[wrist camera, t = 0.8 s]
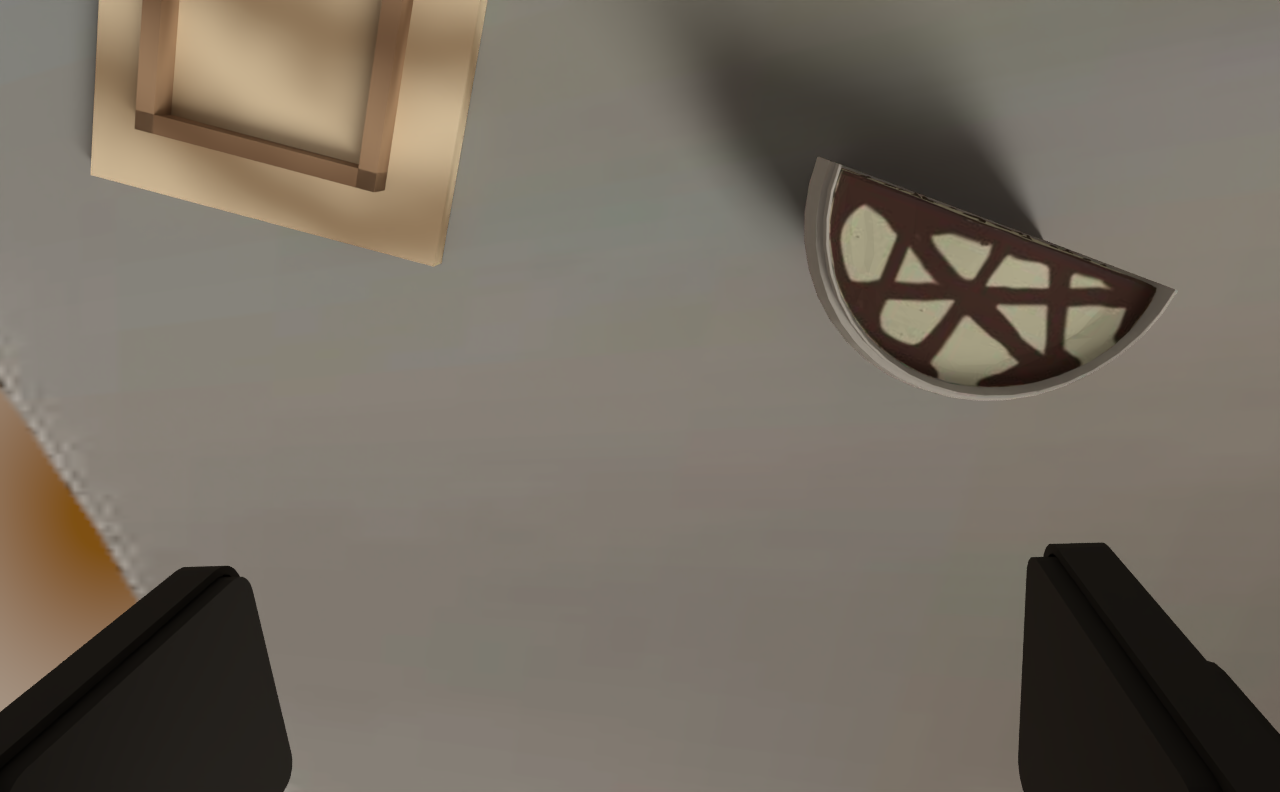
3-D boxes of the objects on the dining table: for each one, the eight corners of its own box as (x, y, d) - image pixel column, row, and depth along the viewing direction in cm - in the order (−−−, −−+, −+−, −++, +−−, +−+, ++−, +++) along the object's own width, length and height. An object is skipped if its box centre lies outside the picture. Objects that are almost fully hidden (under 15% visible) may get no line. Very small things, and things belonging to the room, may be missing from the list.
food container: (747, 286, 39) (750, 338, 29) (801, 149, 37) (823, 158, 28) (1009, 383, 39) (1096, 467, 29) (1077, 252, 37) (1194, 296, 28)
